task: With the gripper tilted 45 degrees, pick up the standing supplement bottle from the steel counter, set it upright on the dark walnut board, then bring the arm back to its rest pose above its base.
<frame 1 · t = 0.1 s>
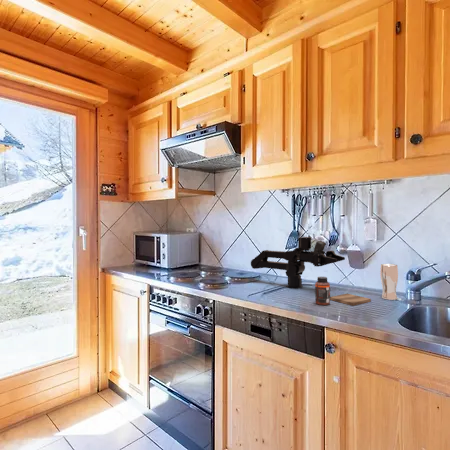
hand: (340, 259, 146), 17 cm above the countertop, fingers open, 9 cm apart
supplement bottle: (322, 304, 130), on the countertop
walnut board: (349, 300, 134), on the countertop
beer glass: (389, 298, 137), on the countertop
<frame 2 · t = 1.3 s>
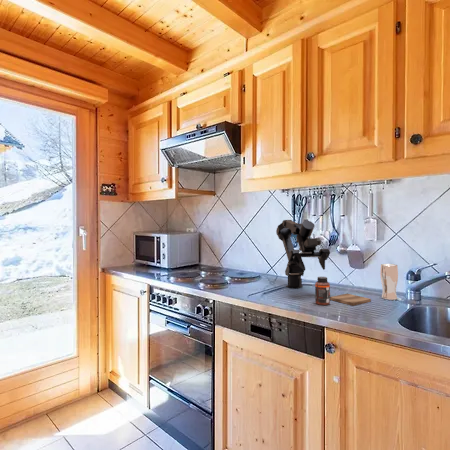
hand: (314, 269, 138), 13 cm above the countertop, fingers open, 9 cm apart
nothing on the countertop moved.
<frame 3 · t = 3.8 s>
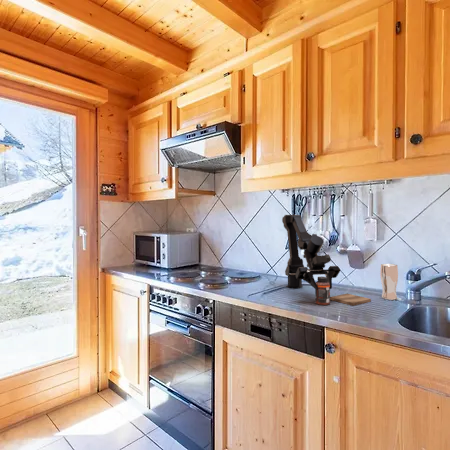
hand: (324, 288, 129), 7 cm above the countertop, fingers closed on supplement bottle, 6 cm apart
supplement bottle: (322, 304, 130), on the countertop, touching gripper
everything else where it was.
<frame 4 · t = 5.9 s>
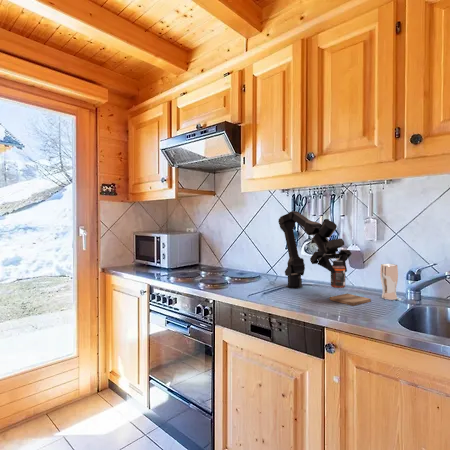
hand: (340, 272, 130), 13 cm above the countertop, fingers closed on supplement bottle, 6 cm apart
supplement bottle: (338, 287, 132), point 6 cm above the countertop, touching gripper
everything else where it was.
when the fingers open (9 cm above the countertop, at t = 7.8 s): supplement bottle drops 1 cm, resting on walnut board.
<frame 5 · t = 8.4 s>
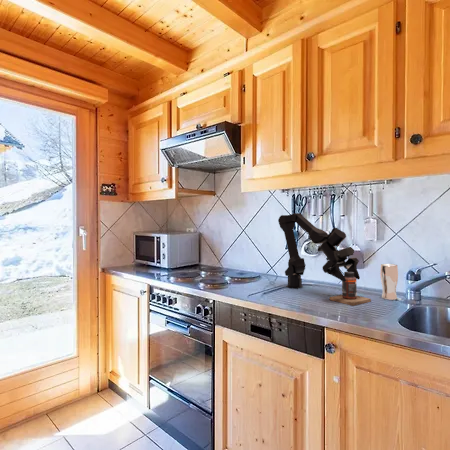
hand: (352, 280, 133), 9 cm above the countertop, fingers open, 9 cm apart
supplement bottle: (349, 298, 134), point 1 cm above the countertop, touching walnut board
everything else where it was.
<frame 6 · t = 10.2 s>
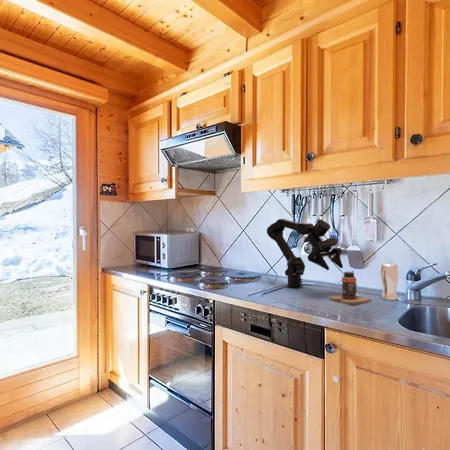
hand: (335, 268, 141), 13 cm above the countertop, fingers open, 9 cm apart
nothing on the countertop moved.
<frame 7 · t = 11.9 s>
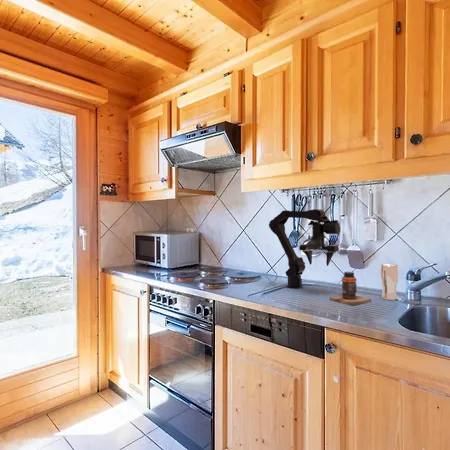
hand: (318, 264, 154), 13 cm above the countertop, fingers open, 9 cm apart
nothing on the countertop moved.
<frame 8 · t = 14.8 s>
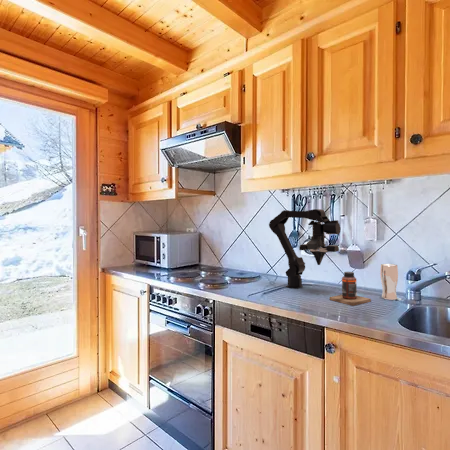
hand: (318, 264, 154), 13 cm above the countertop, fingers closed
nothing on the countertop moved.
at the end: supplement bottle inside the target area on the walnut board (0.2 cm from its centre), point 1.0 cm above the walnut board's base; supplement bottle tilted 0°; the gripper is holding nothing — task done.
